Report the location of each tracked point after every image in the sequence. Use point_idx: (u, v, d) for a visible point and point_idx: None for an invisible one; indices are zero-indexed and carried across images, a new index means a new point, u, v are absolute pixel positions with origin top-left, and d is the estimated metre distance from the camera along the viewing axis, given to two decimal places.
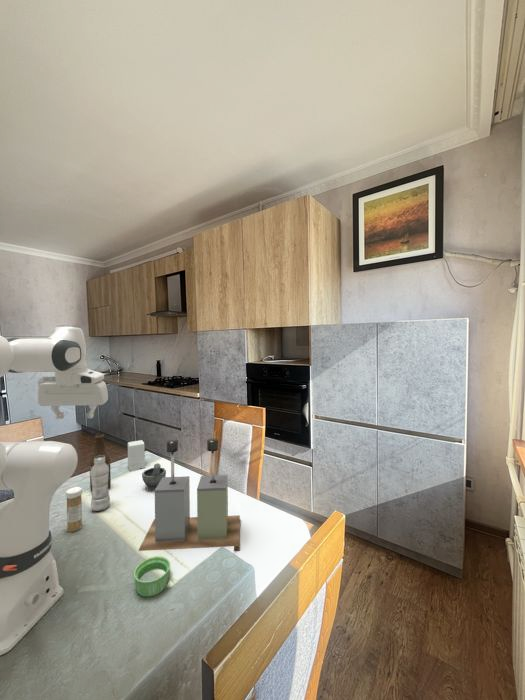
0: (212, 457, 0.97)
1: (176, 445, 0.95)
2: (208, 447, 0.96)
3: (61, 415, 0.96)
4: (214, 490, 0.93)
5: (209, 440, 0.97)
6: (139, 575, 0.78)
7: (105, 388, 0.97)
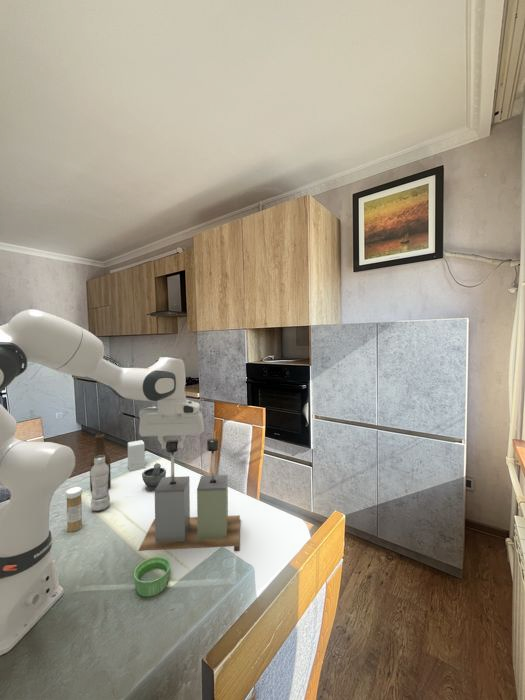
0: (212, 457, 0.97)
1: (176, 445, 0.95)
2: (208, 447, 0.96)
3: (166, 445, 0.96)
4: (214, 490, 0.93)
5: (209, 440, 0.97)
6: (139, 575, 0.78)
7: (202, 418, 0.98)
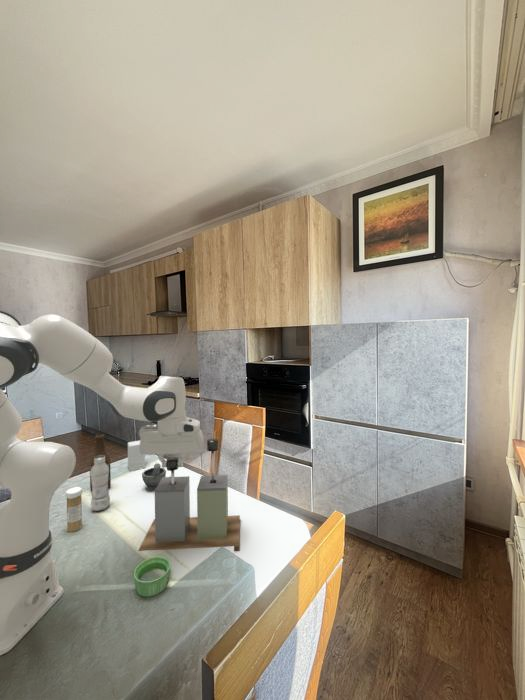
0: (212, 457, 0.97)
1: (176, 463, 0.95)
2: (208, 447, 0.96)
3: (166, 463, 0.96)
4: (214, 490, 0.93)
5: (209, 440, 0.97)
6: (139, 575, 0.78)
7: (202, 436, 0.98)
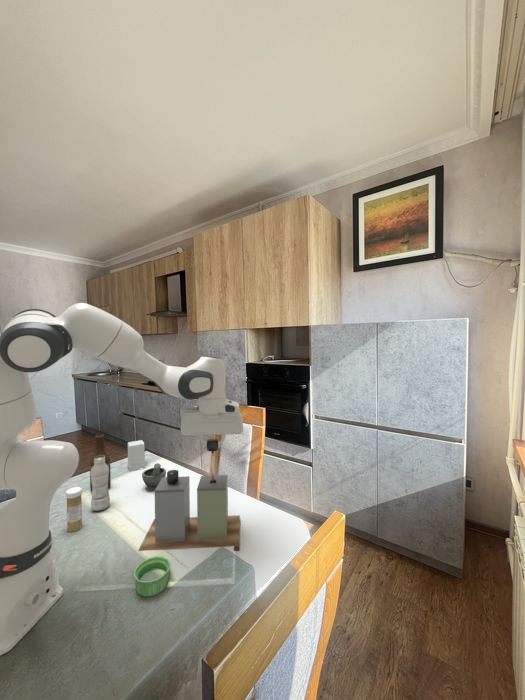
0: (212, 457, 0.97)
1: (176, 476, 0.96)
2: (208, 447, 0.96)
3: (206, 444, 0.97)
4: (214, 490, 0.93)
5: (209, 440, 0.97)
6: (139, 575, 0.78)
7: None
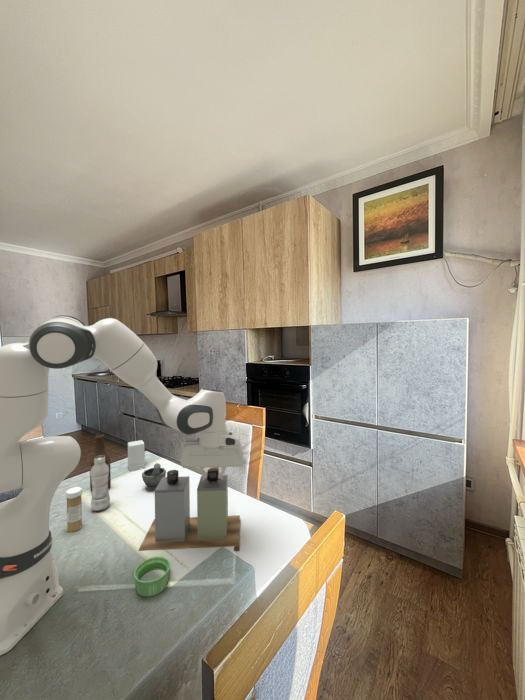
0: None
1: (176, 476, 0.96)
2: (208, 478, 0.96)
3: None
4: (214, 490, 0.93)
5: (209, 470, 0.97)
6: (139, 575, 0.78)
7: (242, 449, 0.98)
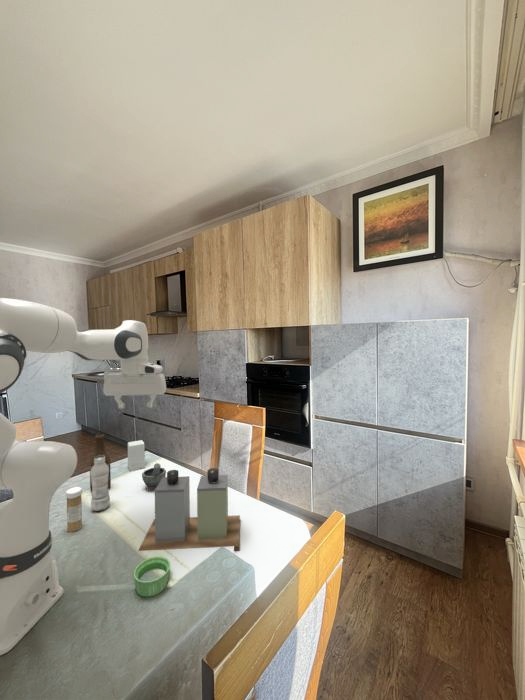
0: None
1: (176, 476, 0.96)
2: (208, 478, 0.96)
3: (123, 405, 1.01)
4: (214, 490, 0.93)
5: (209, 470, 0.97)
6: (139, 575, 0.78)
7: (164, 379, 1.03)
